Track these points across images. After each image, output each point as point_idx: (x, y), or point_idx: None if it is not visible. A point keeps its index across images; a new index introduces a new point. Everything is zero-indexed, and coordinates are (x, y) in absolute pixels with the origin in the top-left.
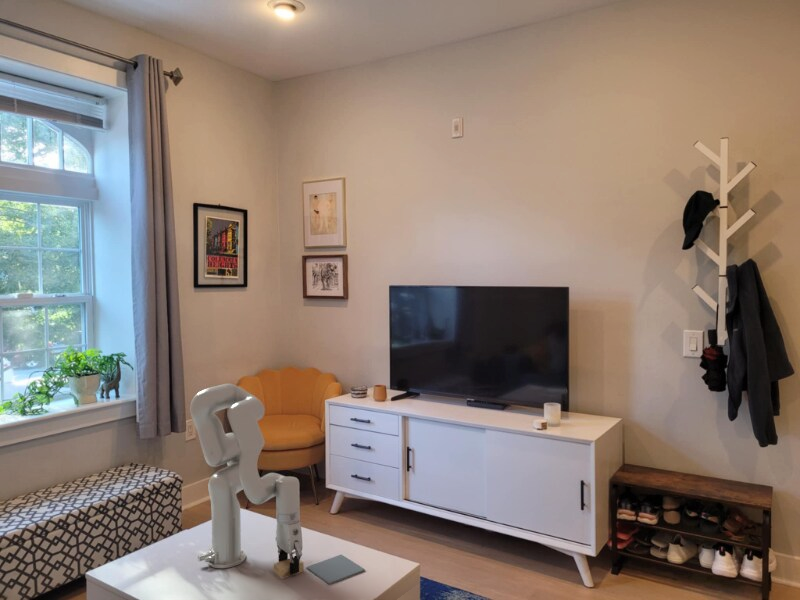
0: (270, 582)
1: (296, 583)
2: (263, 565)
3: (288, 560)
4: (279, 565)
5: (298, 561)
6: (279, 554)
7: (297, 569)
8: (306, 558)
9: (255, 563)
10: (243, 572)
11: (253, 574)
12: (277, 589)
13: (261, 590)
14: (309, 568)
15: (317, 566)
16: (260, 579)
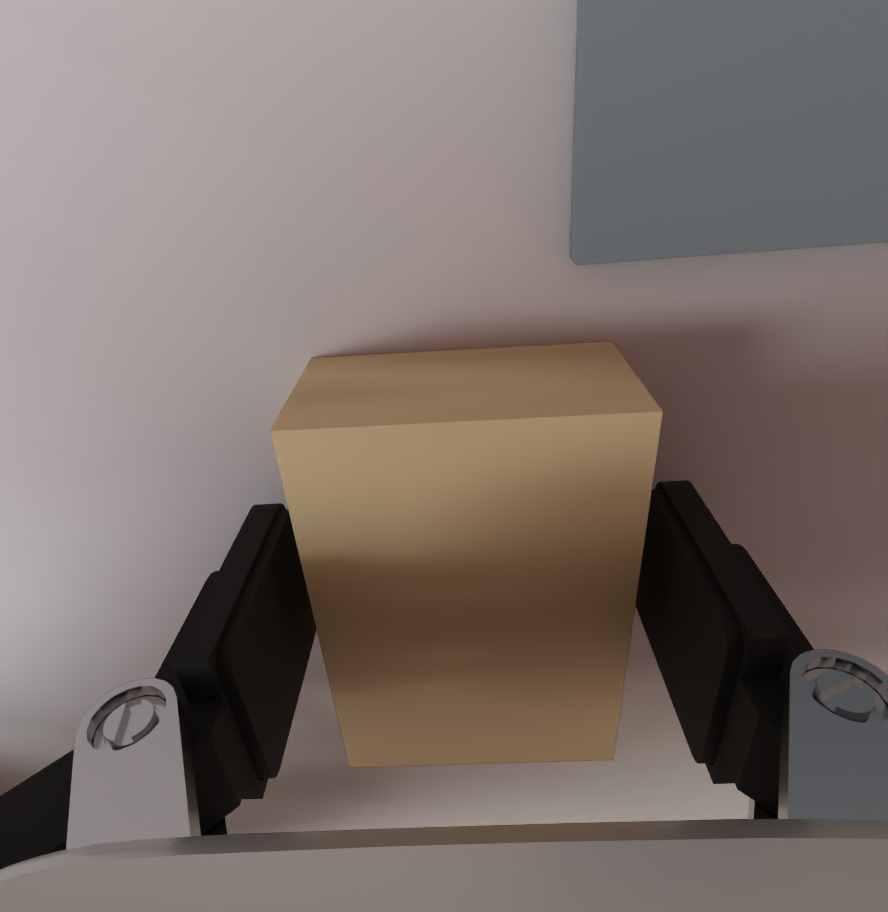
0: None
1: (846, 570)
2: (121, 681)
3: (377, 597)
4: (460, 739)
5: (770, 624)
6: (251, 791)
7: (744, 563)
8: (121, 13)
9: (31, 721)
10: None
11: (296, 793)
12: None
13: None
14: (686, 243)
15: (758, 23)
16: (442, 782)
